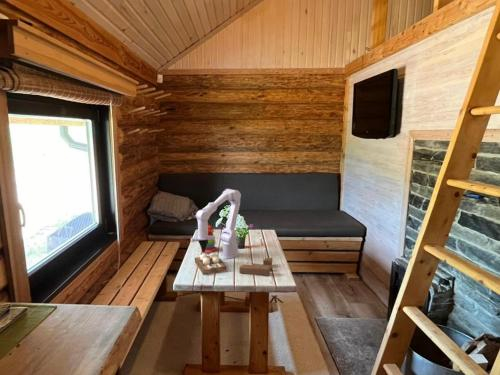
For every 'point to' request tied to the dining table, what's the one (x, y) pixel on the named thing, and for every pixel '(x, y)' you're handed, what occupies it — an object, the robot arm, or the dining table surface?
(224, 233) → the robot arm
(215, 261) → the button
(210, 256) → the button
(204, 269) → the button board
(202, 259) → the button
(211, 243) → the stacking bear
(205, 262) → the button
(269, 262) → the wooden block set
